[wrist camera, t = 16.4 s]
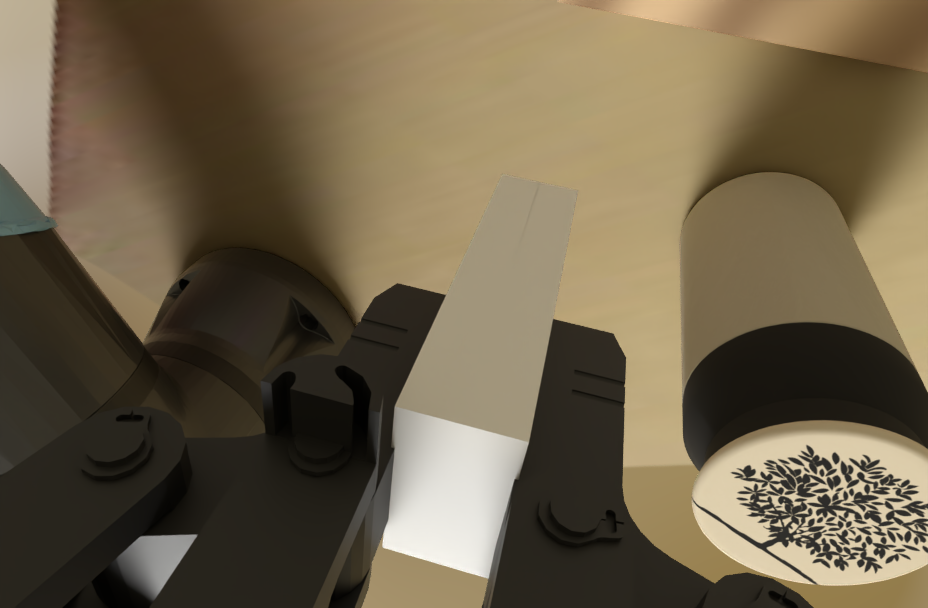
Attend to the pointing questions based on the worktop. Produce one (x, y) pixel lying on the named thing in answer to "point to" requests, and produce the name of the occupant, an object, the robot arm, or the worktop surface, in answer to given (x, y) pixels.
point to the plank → (801, 24)
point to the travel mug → (797, 391)
